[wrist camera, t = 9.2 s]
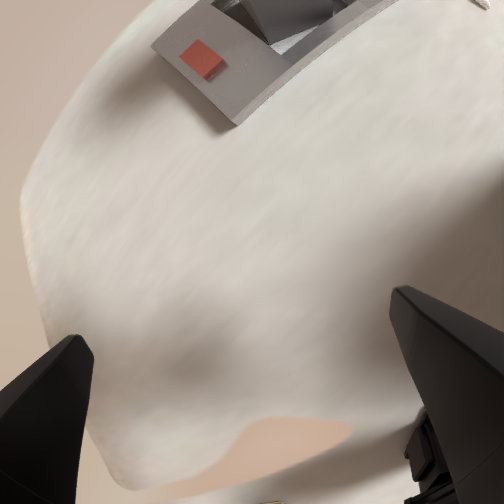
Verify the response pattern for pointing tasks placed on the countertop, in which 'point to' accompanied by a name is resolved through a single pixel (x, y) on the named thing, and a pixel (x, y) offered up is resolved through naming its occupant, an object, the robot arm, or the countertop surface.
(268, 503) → the medicine bottle
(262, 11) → the plug
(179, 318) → the countertop surface
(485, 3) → the acanthus leaf ornament
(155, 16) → the countertop surface
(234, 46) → the socket plate
